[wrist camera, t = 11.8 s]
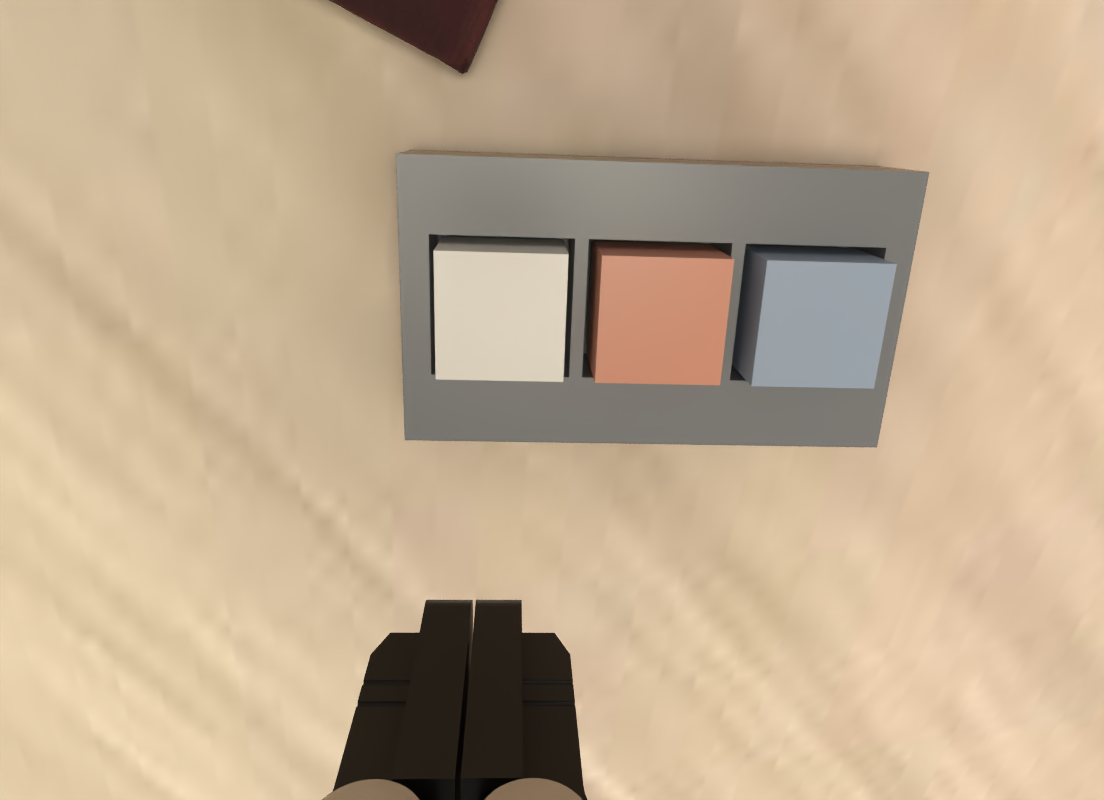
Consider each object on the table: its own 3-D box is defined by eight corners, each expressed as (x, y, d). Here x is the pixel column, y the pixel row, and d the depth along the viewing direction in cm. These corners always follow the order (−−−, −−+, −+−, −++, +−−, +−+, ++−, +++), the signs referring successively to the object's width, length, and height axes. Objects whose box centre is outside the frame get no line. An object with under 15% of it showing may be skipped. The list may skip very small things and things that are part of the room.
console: (417, 404, 41) (404, 440, 37) (411, 149, 37) (395, 153, 32) (837, 411, 43) (877, 447, 38) (878, 166, 38) (929, 172, 34)
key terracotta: (586, 354, 38) (595, 383, 34) (592, 240, 36) (602, 255, 32) (698, 357, 39) (720, 385, 34) (709, 243, 37) (734, 259, 33)
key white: (444, 351, 38) (435, 379, 34) (442, 236, 36) (433, 250, 32) (558, 354, 38) (563, 382, 34) (562, 239, 36) (568, 254, 32)
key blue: (726, 358, 39) (751, 386, 34) (739, 244, 37) (767, 260, 33) (835, 360, 39) (873, 388, 35) (854, 248, 37) (896, 263, 33)
